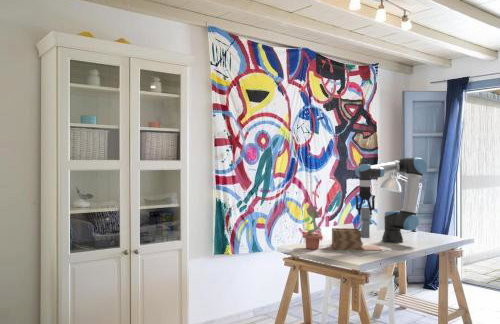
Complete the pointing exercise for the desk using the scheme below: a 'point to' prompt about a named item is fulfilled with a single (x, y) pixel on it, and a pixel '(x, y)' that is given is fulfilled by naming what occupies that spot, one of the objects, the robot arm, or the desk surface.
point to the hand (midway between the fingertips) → (365, 219)
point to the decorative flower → (312, 238)
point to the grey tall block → (365, 223)
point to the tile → (371, 248)
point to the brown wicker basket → (346, 239)
